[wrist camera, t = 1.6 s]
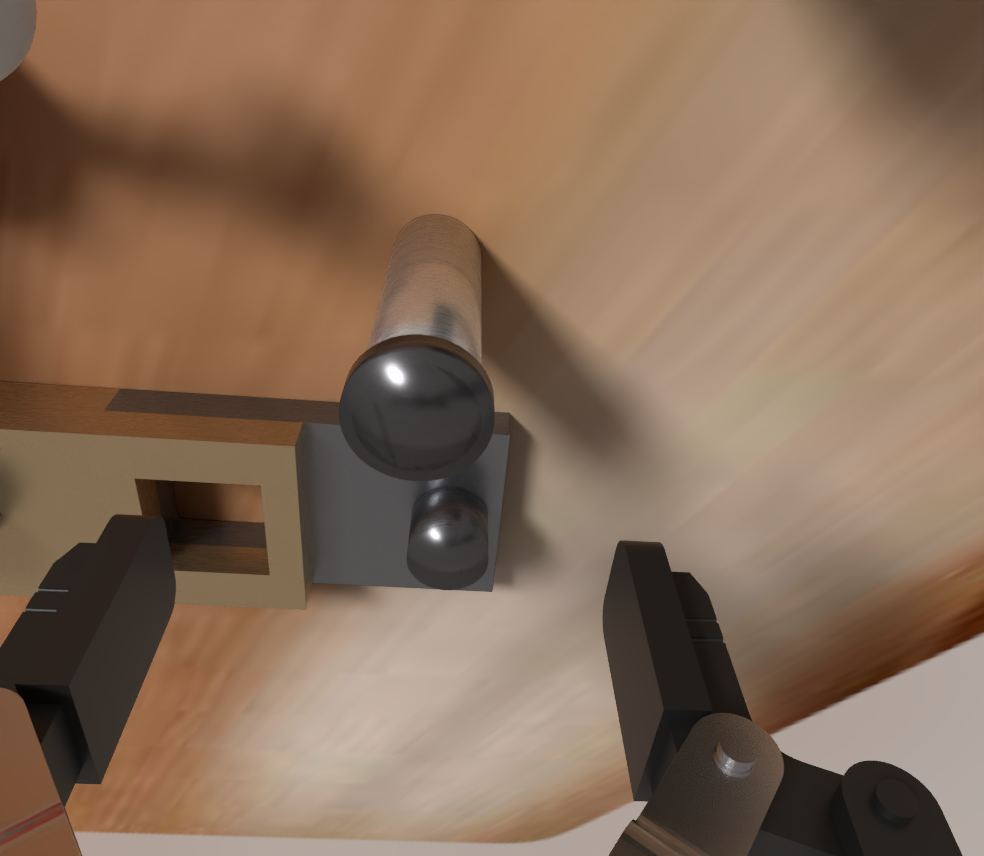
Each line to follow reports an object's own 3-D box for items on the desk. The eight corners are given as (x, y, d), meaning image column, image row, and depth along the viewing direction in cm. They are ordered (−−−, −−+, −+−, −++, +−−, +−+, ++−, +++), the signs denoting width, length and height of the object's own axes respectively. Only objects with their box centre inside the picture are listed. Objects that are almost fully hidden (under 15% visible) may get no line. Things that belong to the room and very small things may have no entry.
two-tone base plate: (509, 413, 30) (513, 495, 26) (491, 566, 34) (493, 658, 30) (-90, 375, 29) (-186, 455, 25) (-28, 540, 33) (-101, 631, 29)
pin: (494, 209, 26) (501, 356, 17) (486, 310, 28) (488, 485, 19) (383, 201, 26) (336, 345, 17) (382, 302, 28) (340, 476, 19)
